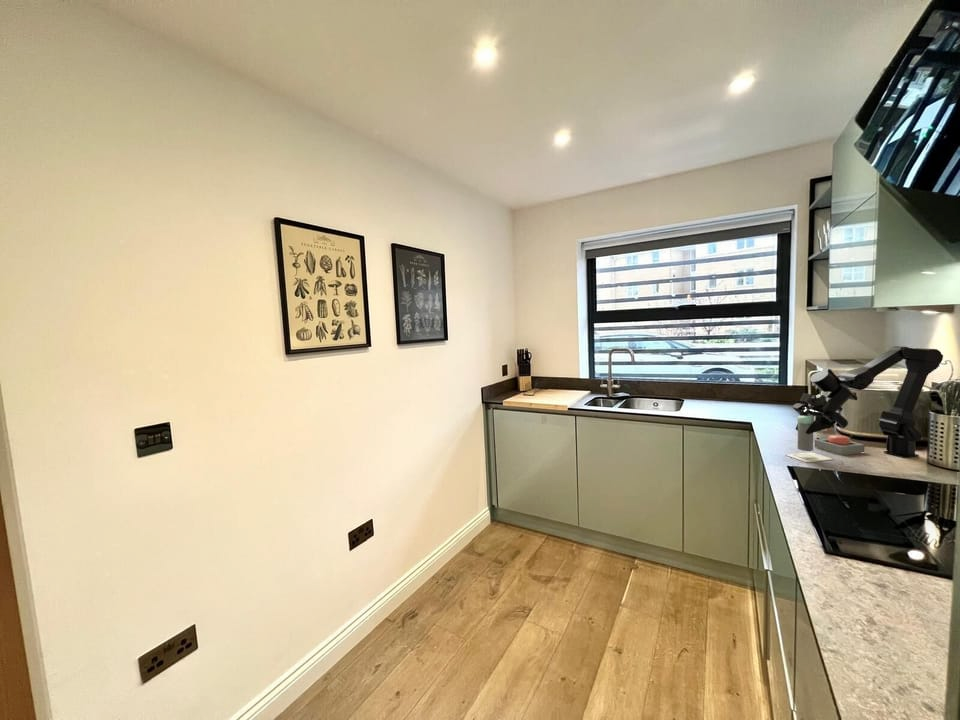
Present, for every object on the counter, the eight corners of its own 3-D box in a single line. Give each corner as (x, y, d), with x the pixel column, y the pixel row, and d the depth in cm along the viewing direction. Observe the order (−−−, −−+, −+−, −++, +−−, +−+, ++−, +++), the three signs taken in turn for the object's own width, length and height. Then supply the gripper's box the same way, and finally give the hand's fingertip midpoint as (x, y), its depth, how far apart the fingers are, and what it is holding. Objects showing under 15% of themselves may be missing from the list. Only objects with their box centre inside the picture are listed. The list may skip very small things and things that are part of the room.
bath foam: (810, 437, 167) (811, 391, 166) (818, 435, 171) (819, 389, 169) (831, 441, 161) (832, 393, 160) (839, 438, 164) (840, 391, 163)
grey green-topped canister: (816, 449, 143) (816, 417, 142) (808, 451, 141) (808, 418, 140) (802, 446, 147) (802, 415, 146) (794, 448, 145) (794, 416, 145)
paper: (833, 459, 141) (833, 458, 141) (805, 462, 139) (805, 461, 139) (811, 453, 149) (811, 452, 149) (785, 455, 147) (785, 454, 147)
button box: (864, 452, 146) (864, 444, 146) (841, 455, 145) (841, 447, 145) (836, 445, 156) (836, 437, 156) (814, 447, 155) (814, 439, 155)
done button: (854, 447, 148) (854, 438, 148) (840, 448, 147) (840, 439, 147) (837, 443, 154) (837, 434, 154) (824, 444, 153) (824, 435, 153)
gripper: (797, 382, 152) (767, 411, 153) (839, 389, 133) (805, 422, 134) (818, 401, 152) (788, 430, 153) (863, 411, 133) (829, 444, 134)
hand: (801, 431), depth 144 cm, fingers closed on grey green-topped canister, 4 cm apart
